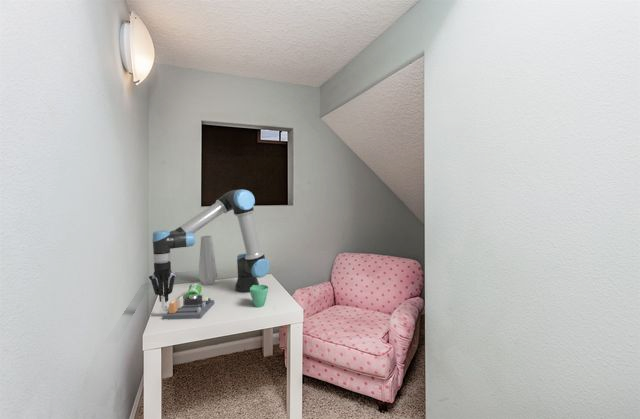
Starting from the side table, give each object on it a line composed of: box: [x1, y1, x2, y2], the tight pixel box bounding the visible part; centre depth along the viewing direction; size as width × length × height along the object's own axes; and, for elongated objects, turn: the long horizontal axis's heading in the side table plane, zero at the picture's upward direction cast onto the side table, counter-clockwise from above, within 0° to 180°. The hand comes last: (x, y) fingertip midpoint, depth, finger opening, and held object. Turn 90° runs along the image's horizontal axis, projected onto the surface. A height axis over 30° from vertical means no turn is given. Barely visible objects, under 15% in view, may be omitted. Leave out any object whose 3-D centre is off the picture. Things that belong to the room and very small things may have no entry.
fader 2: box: [174, 295, 184, 308], centre depth 162 cm, size 2×4×5 cm, turn 1°
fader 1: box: [168, 299, 178, 313], centre depth 155 cm, size 2×4×5 cm, turn 1°
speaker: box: [185, 283, 202, 299], centre depth 182 cm, size 18×7×8 cm, turn 17°
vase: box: [198, 235, 218, 286], centre depth 213 cm, size 12×12×33 cm
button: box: [189, 294, 198, 299], centre depth 169 cm, size 4×4×4 cm
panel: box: [163, 294, 215, 320], centre depth 162 cm, size 18×21×5 cm
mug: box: [249, 284, 269, 308], centre depth 170 cm, size 15×10×10 cm
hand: (164, 307), depth 155 cm, fingers closed
